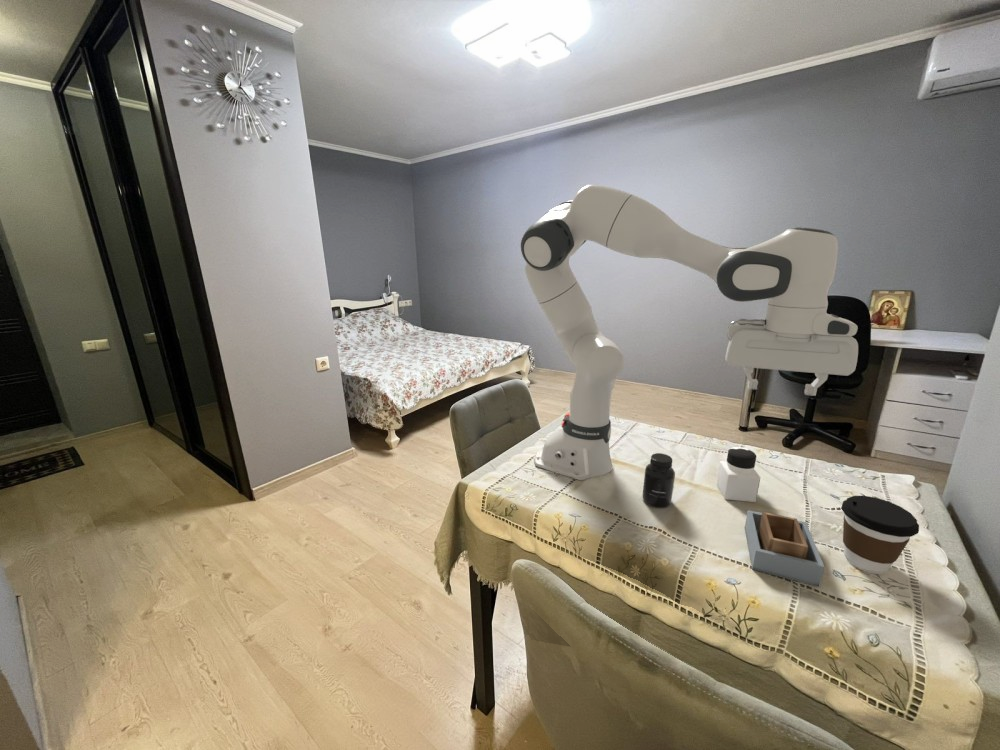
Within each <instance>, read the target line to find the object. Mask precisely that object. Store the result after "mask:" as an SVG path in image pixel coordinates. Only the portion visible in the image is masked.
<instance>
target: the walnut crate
mask: <svg viewBox="0 0 1000 750" xmlns="http://www.w3.org/2000/svg"><path fill="white" fill-rule="evenodd" d="M761 513H762V517H761V522H760V527H759V532H758V539H759V543H760V547H761V549H762V550H767V551H771V552H775V553H779V554H783V555H788V556H792V557H796V558H800V559H804V560H805V559H806V555H807V551H808V545H807V543H806V540H805V538H804V535H803V533H802V530H801V528H800V525H799V523H798V521H799V520H798V519H797V518H794V517H791V516H786V515H779V514H776V513H769V512H764V511H762V512H761Z"/></svg>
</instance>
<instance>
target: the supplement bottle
mask: <svg viewBox="0 0 1000 750" xmlns="http://www.w3.org/2000/svg"><path fill="white" fill-rule="evenodd" d="M675 477H676V472H675V470H674V468H673V458H672V457H671V456H670V455H668V454H665V453H660V452H659V453H658V452H656V453H653V454H651V456H650V462H649V464H647V465H646V466H645V469H644V477H643V485H642V487H643V488H642V500H643V501H644V502H645V503H646V504H647V505H648V506H651V507H653V508H657V509H658V508H660V509H664V508H667V507H669V506H670V505H671V503H672V498H673V493H674V485H675V479H676V478H675Z"/></svg>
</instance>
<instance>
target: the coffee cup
mask: <svg viewBox="0 0 1000 750" xmlns="http://www.w3.org/2000/svg"><path fill="white" fill-rule="evenodd" d="M840 509H841V511H842V512H843V513H844V516H843V525H842V526H843V527H842V543H843V556H844V557H845V559H846V561H847V562H849V564H851V565H852V566H853V567H854V568H857V569H858V570H860V571H864V572H866V573H870V574H874V575H882V574H884V573H885V572H888V571H889V570H890V569H891V567H892V565H893V564H894V563H895V562H897V560H898V558H899V557H901V556H900V555H901V554H902V552H903V551H904V549H905V548H906V546H907V545H908V543H909V542H910V537H914V536H915V535H918V534H919V531H920V524H919V523H918V520H917V518H916V517H915V516H914V515H913V513H912V512H910V511H908V510H906V509H905V508H904V507H902V506H900V505H897V504H896V503H893V502H890V501H888V500H885V499H882V498H878V497H876V496H868V495H852V496H849V497H847V498H846V499H845V500H843V501H842V504H841V508H840Z"/></svg>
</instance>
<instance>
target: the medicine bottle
mask: <svg viewBox="0 0 1000 750" xmlns="http://www.w3.org/2000/svg"><path fill="white" fill-rule="evenodd" d="M756 461H757V455H756V453H755V452H754V451H752V450H751V449H748V448H746V447H740V446H736V447H735V446H734V447H731V448H729V449H728V451H727V458H726V460H720V461H719V465H718V472H717V478H716V486H717V488H718V489H719V491H720V494H721V495H722V497H723V498H724V500H727V501H728V500H729V501H737V502H738V501H739V502H749V503H750V502H751V503H756V502H757V498H758V493H759V492H758V491H759V488H760V483H761V476H760V475H759V473H758V472H757V471H756V469H755V465H756Z"/></svg>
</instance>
